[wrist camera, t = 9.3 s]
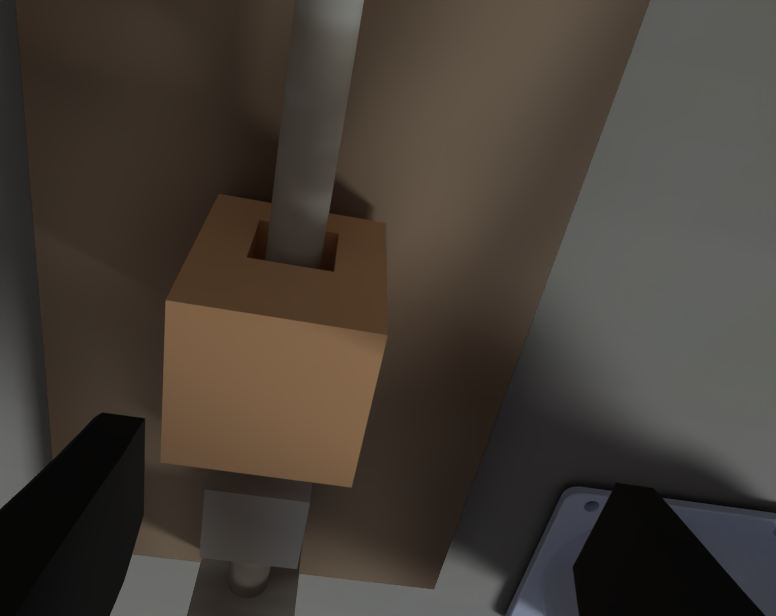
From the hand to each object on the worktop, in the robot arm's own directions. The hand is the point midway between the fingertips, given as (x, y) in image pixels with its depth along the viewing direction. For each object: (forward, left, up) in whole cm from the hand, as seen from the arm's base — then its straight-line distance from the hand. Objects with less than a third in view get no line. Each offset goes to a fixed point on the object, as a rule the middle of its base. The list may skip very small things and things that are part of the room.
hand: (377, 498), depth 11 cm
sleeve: (+2, +1, -8) cm, 8 cm away
